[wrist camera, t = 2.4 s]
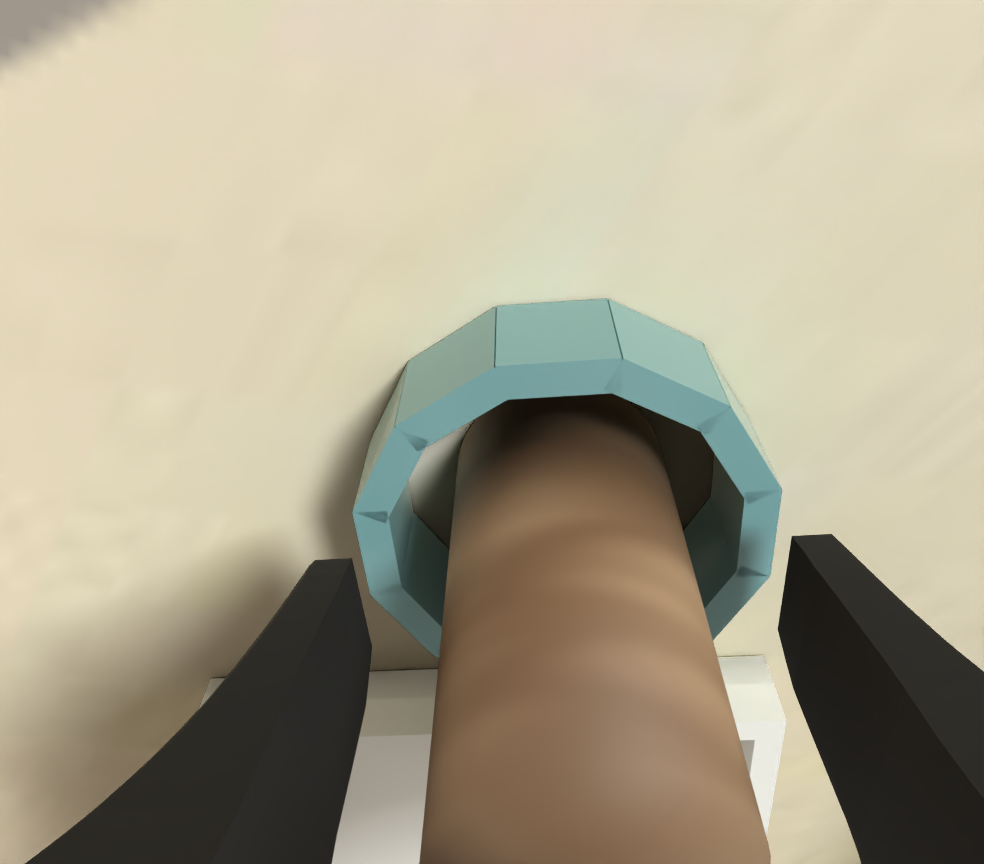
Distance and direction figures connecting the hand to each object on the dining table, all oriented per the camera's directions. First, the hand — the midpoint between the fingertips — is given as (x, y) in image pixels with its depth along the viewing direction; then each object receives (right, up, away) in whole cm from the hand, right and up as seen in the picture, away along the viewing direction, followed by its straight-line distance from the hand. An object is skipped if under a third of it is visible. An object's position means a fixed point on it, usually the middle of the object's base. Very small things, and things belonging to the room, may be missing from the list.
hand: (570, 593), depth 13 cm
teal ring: (0, +2, +3) cm, 3 cm away
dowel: (0, +2, +3) cm, 3 cm away
